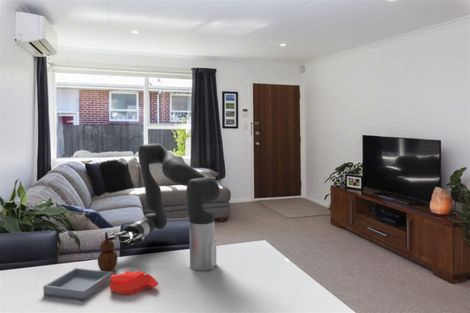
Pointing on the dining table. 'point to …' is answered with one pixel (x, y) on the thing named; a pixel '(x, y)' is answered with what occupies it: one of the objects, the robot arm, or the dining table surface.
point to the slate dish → (78, 284)
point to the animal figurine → (131, 282)
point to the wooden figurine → (107, 255)
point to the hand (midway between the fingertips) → (114, 244)
